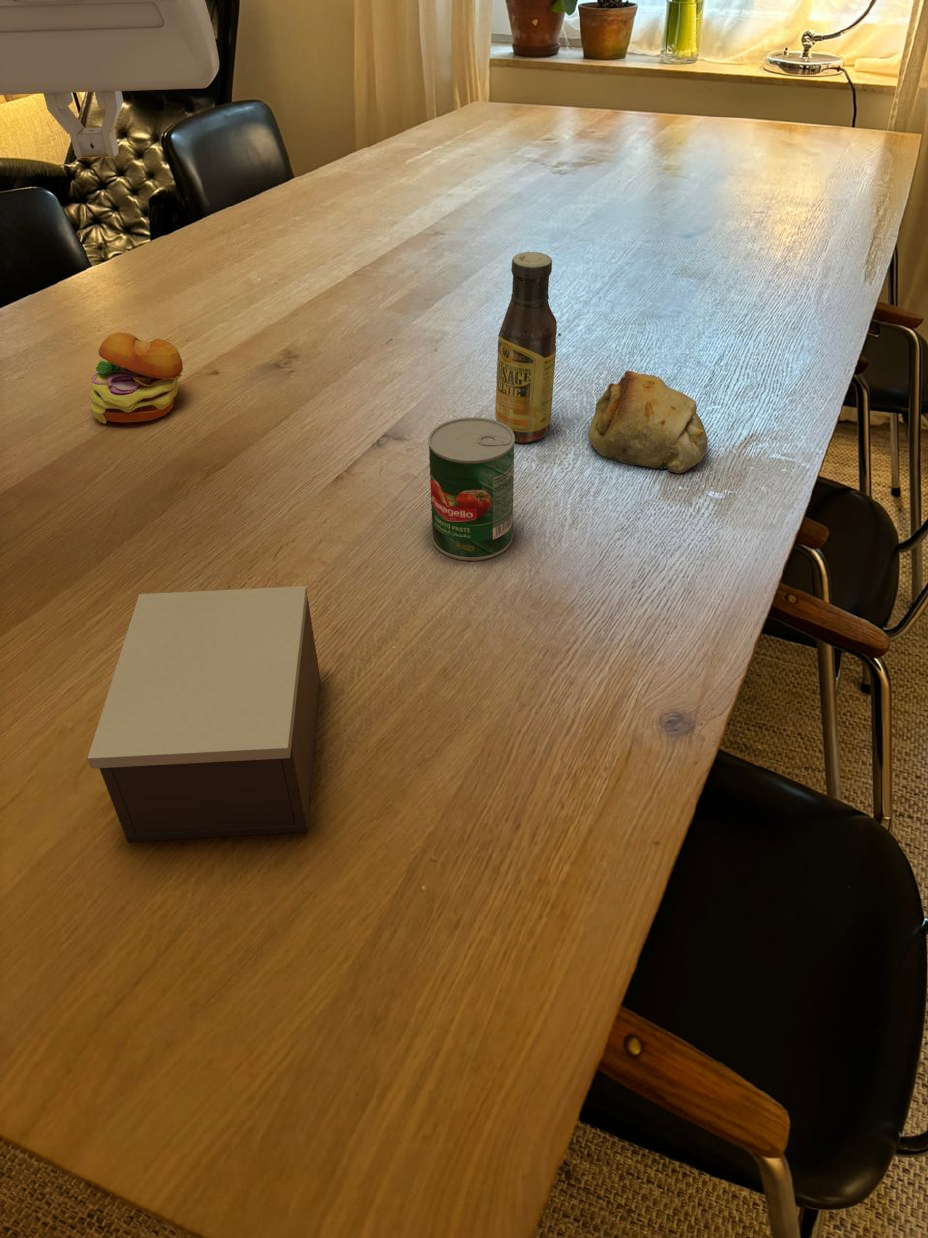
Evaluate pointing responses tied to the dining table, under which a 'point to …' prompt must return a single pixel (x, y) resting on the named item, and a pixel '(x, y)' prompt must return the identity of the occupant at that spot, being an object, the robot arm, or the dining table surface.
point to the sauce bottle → (527, 351)
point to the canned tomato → (472, 487)
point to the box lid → (204, 679)
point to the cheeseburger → (135, 379)
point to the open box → (226, 782)
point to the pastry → (648, 425)
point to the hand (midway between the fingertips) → (98, 155)
